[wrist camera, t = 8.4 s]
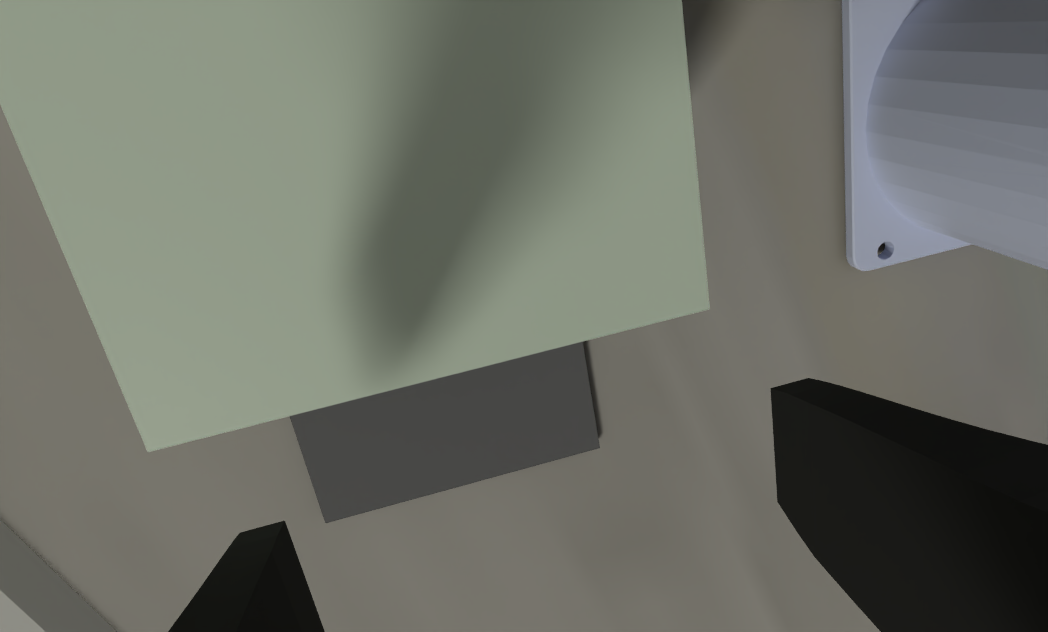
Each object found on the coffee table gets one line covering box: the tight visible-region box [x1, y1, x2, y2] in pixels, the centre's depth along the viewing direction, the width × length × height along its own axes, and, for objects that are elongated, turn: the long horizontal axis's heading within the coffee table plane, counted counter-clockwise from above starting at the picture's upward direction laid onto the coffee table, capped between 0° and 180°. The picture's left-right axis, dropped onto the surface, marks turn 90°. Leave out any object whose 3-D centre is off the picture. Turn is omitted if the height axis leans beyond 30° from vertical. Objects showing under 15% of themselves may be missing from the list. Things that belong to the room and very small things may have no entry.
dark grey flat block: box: [290, 342, 600, 523], centre depth 21 cm, size 8×5×1 cm, turn 100°
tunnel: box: [0, 0, 710, 452], centre depth 15 cm, size 10×10×7 cm
